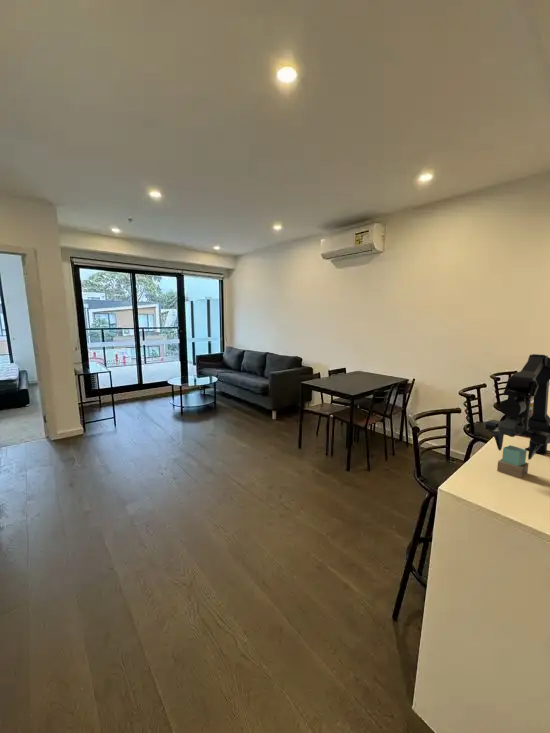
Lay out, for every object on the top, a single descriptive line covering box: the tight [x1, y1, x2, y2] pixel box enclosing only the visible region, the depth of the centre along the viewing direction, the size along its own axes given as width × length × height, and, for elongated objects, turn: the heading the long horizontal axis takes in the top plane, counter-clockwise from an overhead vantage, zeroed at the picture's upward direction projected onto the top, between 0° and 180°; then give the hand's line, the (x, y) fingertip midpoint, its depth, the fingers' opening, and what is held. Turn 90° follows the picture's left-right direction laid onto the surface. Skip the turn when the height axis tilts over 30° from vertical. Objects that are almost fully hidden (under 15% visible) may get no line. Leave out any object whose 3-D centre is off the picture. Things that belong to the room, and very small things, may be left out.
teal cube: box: [501, 445, 528, 466], centre depth 113 cm, size 5×5×5 cm
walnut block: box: [496, 458, 529, 480], centre depth 113 cm, size 7×7×4 cm
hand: (514, 454), depth 113 cm, fingers open, 9 cm apart
